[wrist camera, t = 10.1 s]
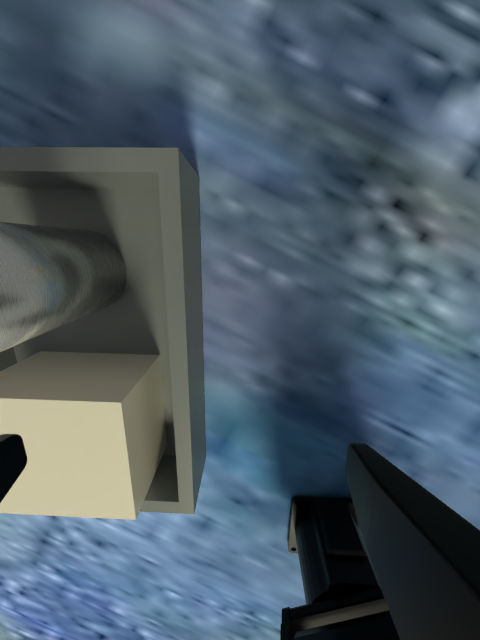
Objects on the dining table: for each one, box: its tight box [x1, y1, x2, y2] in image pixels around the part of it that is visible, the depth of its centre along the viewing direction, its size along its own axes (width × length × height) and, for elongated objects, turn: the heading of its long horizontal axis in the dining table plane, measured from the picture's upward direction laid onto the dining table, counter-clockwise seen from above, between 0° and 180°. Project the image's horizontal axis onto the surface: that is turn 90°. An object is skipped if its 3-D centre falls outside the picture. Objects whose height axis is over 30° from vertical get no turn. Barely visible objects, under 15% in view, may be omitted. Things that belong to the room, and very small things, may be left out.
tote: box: [0, 147, 206, 514], centre depth 17 cm, size 22×15×5 cm
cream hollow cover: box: [0, 351, 167, 520], centre depth 17 cm, size 8×9×6 cm
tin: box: [0, 222, 127, 352], centre depth 13 cm, size 5×5×10 cm
